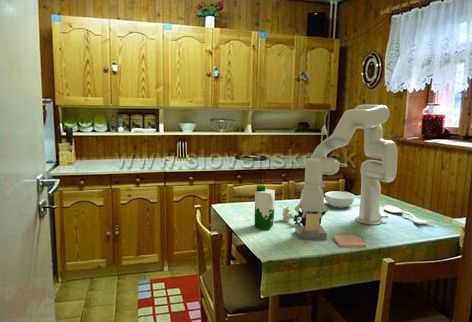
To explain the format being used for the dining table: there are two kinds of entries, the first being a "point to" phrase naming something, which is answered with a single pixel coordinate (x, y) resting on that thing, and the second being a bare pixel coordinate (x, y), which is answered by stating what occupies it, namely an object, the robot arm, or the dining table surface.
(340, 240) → the tile
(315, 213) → the sleeve
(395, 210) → the spoon
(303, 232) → the grey base with post
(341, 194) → the cereal bowl
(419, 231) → the dining table surface
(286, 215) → the valve
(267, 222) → the milk carton
